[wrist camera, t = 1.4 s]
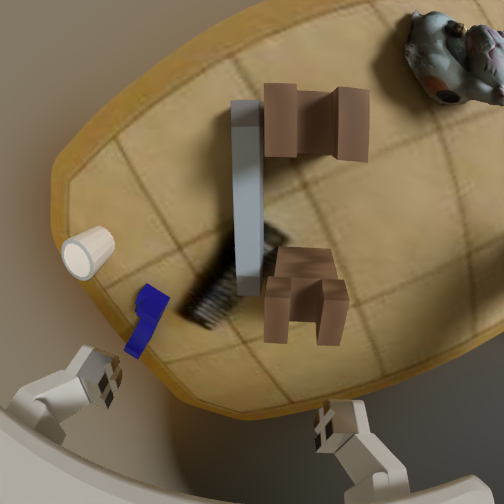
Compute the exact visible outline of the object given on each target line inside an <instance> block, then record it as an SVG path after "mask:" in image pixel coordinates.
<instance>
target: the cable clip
mask: <svg viewBox="0 0 504 504" xmlns="http://www.w3.org/2000/svg"><path fill="white" fill-rule="evenodd" d="M169 299H170V297H168V296H167V295H165V294H163V293H162V292H160V291H159V290H157V289H155V288H154V287H152V286H151V285H149V284H146V285H145V286H144V288H143V289H142V290H141V291H140V292H139V295H138V297H137V300H136V303H135V304H136V308H135V312H137V316H139V317H140V318H141V319H140V321H139V323H138V325H137V327H136V329H135V331H134V332H133V334H132V336H131V338H130V339H129V341H128V343H127V344H126V346H125V348H124V351H125V352H127V353H128V354H130V355H131V356H133V357H135V358H136V359H139V357H140V355H141V354H142V352H143V350H144V349H145V347H146V345H147V344H148V342H149V340H150V339H151V337H152V335H153V332H154V330H155V328H156V326H157V324H158V322H159V320H160V318H161V316H162V314H163V312H164V310H165V307H166V305H167V303H168V301H169Z"/></svg>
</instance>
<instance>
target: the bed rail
mask: <svg viewBox="0 0 504 504" xmlns="http://www.w3.org/2000/svg"><path fill="white" fill-rule="evenodd" d="M231 139H232V175H233V205H234V232H235V256H236V278H237V295H241V296H256V297H260V295H261V290H262V285H263V248H264V193H263V103H262V102H261V101H260V100H234V101H231Z"/></svg>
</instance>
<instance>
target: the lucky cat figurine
mask: <svg viewBox="0 0 504 504" xmlns="http://www.w3.org/2000/svg"><path fill="white" fill-rule="evenodd" d="M411 21H412V26H411V31H410V34H409V36H408V39H407V41H406V43H405V46H404V51H405V58H406V60H407V62H408V65H409V67H410V68H411V70H412V72H413V73H414V75H415V77H416V79H417V80H418V82H419V83H420V84H421V86H422V88H423V89H424V90H425V91H426V93H427V94H428V95H429V97H431V98H432V99H433V100H435V101H436V102H437V103H438V104H439V105H454V104H463V103H466V102H467V101H469V100H477V101H480V102H486V103H488V104H490V105H500V106H504V31H497V32H496V31H495V30H493V29H492V28H490V27H488V26H485V25H479V26H477V25H474V26H472V27H471V28H470V30H467V28H466V27H465V25H464V24H462V23H457V22H456V21H455V20H454V19H452V18H451V17H449V16H448V15H446V14H444V13H441V12H437V11H432V12H430V13H428V14H426V15H421V14H419V12H418V11H417V10H415V11H414V12H413V13H412V15H411Z"/></svg>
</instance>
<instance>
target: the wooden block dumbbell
mask: <svg viewBox="0 0 504 504" xmlns="http://www.w3.org/2000/svg"><path fill="white" fill-rule="evenodd" d="M264 125H265V157H297V153H305V154H323V155H332V156H333V157H334V158H336V159H337V160H346V161H357V162H367V163H368V147H369V90H365V89H357V88H349V87H339V86H338V87H337V88H336V89H335V90H334V91H333V92H318V91H298V90H297V84H285V83H265V84H264ZM348 306H349V297H348V293H347V289H346V285H345V282H344V280H338V276H337V272H336V268H335V264H334V260H333V256H332V252H331V249H322V248H301V247H280V246H278V253H277V260H276V267H275V274H274V277H273V276H268V281H267V286H266V291H265V296H264V342H265V343H280V344H287V338H288V326H289V321H298V322H316V337H317V345H326V346H339V345H340V341H341V337H342V333H343V329H344V324H345V320H346V315H347V310H348Z"/></svg>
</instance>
